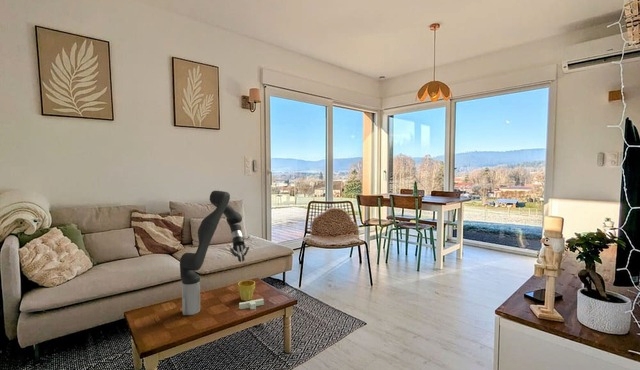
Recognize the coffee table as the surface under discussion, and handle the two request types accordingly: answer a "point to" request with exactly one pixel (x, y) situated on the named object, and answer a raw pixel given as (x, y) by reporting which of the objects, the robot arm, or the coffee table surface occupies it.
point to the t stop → (251, 304)
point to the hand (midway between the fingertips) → (241, 261)
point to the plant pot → (246, 289)
